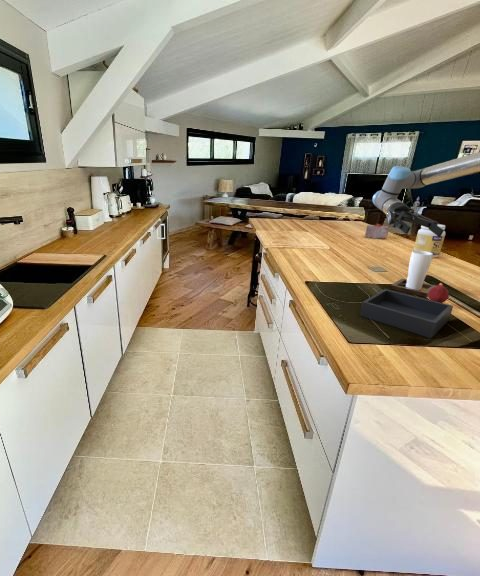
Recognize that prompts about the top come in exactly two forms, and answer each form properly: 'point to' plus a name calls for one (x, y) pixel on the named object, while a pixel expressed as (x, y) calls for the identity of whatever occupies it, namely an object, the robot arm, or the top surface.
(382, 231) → the food item
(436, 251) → the supplement tub
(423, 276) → the drinking glass
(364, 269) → the top surface
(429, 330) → the dark grey tray
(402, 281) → the small square dish
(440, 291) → the onion
